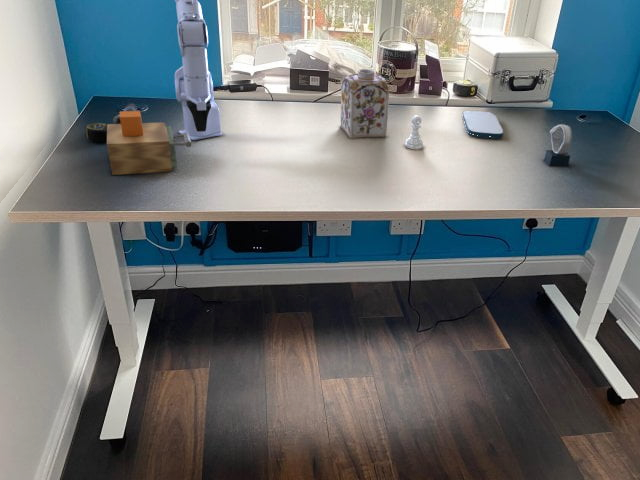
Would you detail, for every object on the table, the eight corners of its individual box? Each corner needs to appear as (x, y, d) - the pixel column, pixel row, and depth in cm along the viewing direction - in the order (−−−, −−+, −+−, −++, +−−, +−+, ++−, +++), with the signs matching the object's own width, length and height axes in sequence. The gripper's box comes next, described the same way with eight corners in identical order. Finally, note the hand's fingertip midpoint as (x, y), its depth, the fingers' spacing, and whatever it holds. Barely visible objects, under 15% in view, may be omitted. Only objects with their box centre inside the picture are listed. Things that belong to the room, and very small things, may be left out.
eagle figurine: (148, 128, 168) (144, 113, 174) (130, 109, 163) (126, 94, 168) (125, 143, 168) (122, 127, 174) (107, 124, 163) (104, 108, 169)
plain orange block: (142, 129, 148) (140, 110, 146) (143, 135, 145) (140, 116, 142) (122, 130, 147) (119, 111, 144) (122, 136, 143) (119, 117, 141)
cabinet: (168, 150, 158) (164, 122, 154) (172, 171, 147) (168, 141, 143) (112, 153, 154) (107, 124, 150) (112, 175, 142) (106, 144, 138)
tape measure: (114, 143, 159) (111, 130, 157) (85, 144, 157) (83, 130, 155) (115, 135, 165) (113, 121, 163) (88, 136, 163) (85, 122, 161)
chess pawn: (406, 142, 178) (409, 112, 173) (423, 145, 178) (426, 114, 173) (403, 148, 174) (406, 117, 169) (420, 150, 173) (424, 119, 169)
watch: (559, 158, 177) (568, 121, 171) (570, 168, 170) (579, 130, 164) (541, 157, 176) (549, 120, 170) (551, 168, 169) (560, 129, 163)
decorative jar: (375, 125, 190) (379, 66, 181) (387, 137, 181) (392, 75, 171) (338, 126, 187) (341, 66, 177) (349, 138, 177) (351, 75, 168)
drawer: (189, 147, 159) (186, 125, 156) (194, 165, 149) (192, 143, 146) (121, 150, 153) (117, 128, 150) (122, 169, 143) (118, 146, 140)
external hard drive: (504, 140, 187) (505, 134, 186) (467, 137, 186) (468, 131, 185) (493, 118, 207) (494, 112, 206) (460, 115, 206) (461, 109, 205)
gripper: (176, 67, 148) (181, 122, 156) (181, 83, 137) (187, 141, 144) (205, 67, 151) (209, 121, 158) (213, 82, 139) (217, 139, 147)
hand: (201, 130), depth 151 cm, fingers closed
